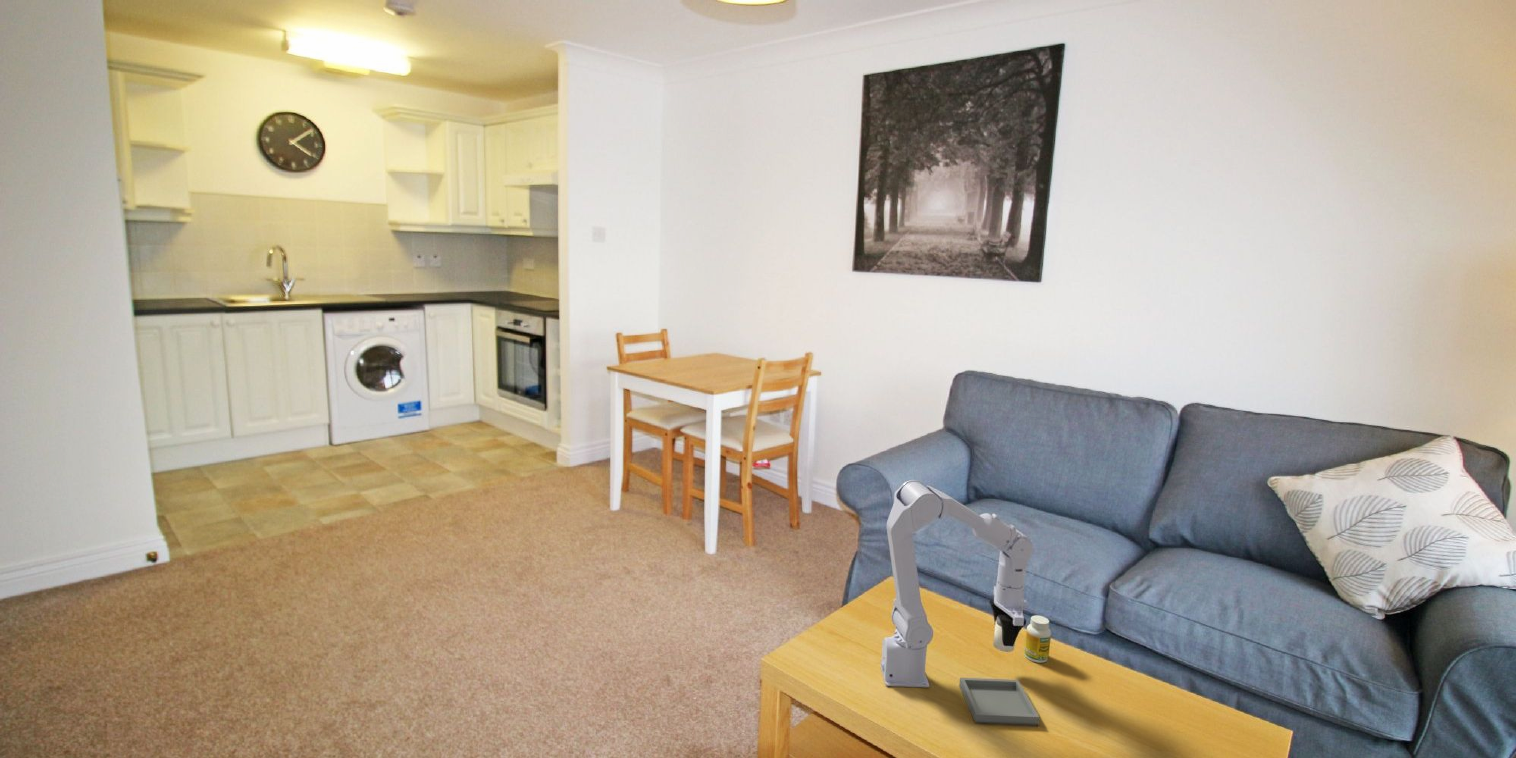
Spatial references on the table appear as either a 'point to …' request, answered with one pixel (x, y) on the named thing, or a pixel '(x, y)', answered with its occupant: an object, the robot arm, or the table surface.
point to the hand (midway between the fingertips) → (1004, 639)
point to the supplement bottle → (1038, 639)
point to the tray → (998, 702)
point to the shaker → (1000, 638)
